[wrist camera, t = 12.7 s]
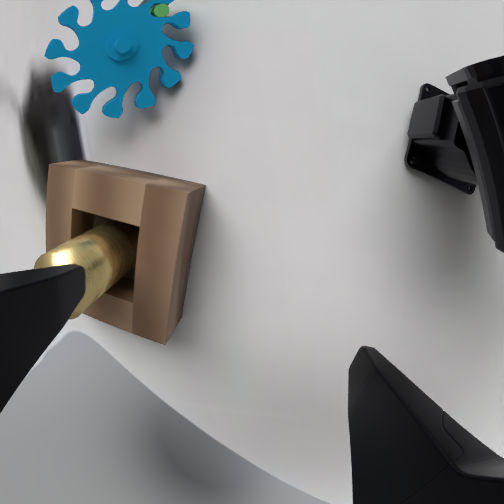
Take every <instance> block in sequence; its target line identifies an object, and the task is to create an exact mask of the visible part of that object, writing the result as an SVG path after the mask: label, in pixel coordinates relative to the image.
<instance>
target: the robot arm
mask: <svg viewBox="0 0 504 504" xmlns="http://www.w3.org/2000/svg"><path fill="white" fill-rule="evenodd" d="M446 79H447V82H448V84H449V86H451V87H452V89H453V92H454V94H450V95H449V94H448V93H446V92H444V91H442V90H440V89H438V88H436V87H435V86H433V85H431V84H428V83H427V84H423V85H422V86H421V88H420V94H419V99H418V102H416V103H415V104H414V108H413V113H412V117H411V122H410V126H409V130H408V136H409V138H410V139H409V143H408V147H407V151H406V155H405V160H404V161H405V164H406V165H407V166H408V167H410V168H412V169H415V170H417V171H419V172H422V173H424V174H426V175H429V176H431V177H433V178H435V179H437V180H440V181H442V182H444V183H446V184H448V185H450V186H452V187H454V188H456V189H458V190H460V191H462V192H464V193H467V194H473V193H474V191H475V187H476V185H478V186H479V191H480V195H481V200H482V204H483V210H484V215H485V221H486V227H487V232H488V233H489V235H490V236H491V238H492V239H493V240H494V241H495V247H496V248H497V249H498V250H500V251H502V252H503V253H504V56H501V57H496V58H493V59H489V60H485V61H482V62H479V63H475V64H472V65H470V66H467V67H465V68H462V69H460V70H459V71H457V72H455V73H453V74H451V75H449V76H447V77H446ZM426 88H428V89H429V93H427V91H426ZM411 157H412V158H413V159H414V162H413V163H412V164H411V163H410V158H411ZM469 185H470V189H469V190H468V186H469ZM85 291H86V281H85V269H84V267H82V266H80V265H77V264H66V265H59V266H52V267H45V268H38V269H31V270H25V271H18V272H11V273H4V274H0V413H1V411H2V410H3V408H4V407H5V405H6V404H7V402H8V401H9V399H10V398H11V396H12V395H13V393H14V392H15V391H16V389H17V388H18V386H19V385H20V383H21V382H22V381H23V379H24V378H25V376H26V375H27V374H28V372H29V371H30V370H31V368H32V367H33V366H34V364H35V363H36V362H37V360H38V359H39V358H40V356H41V355H42V354H43V352H44V351H45V350H46V348H47V347H48V346H49V345H50V343H51V342H52V341H53V339H54V338H55V337H56V336H57V334H58V333H59V332H60V331H61V329H62V328H63V327H64V325H65V324H66V322H67V321H68V319H69V318H70V316H71V314H72V313H73V311H74V310H75V308H76V307H77V305H78V304H79V303H80V301H81V300H82V298H83V297H84V294H85ZM348 420H349V432H350V446H351V463H352V486H353V504H504V458H502V457H500V456H499V455H497V454H496V453H495V452H493V451H492V450H491V449H490V448H488V447H487V446H486V445H484V444H483V443H482V442H481V441H479V440H478V439H477V438H475V437H474V436H473V435H472V434H470V433H469V432H468V431H467V430H466V429H464V428H463V427H462V426H461V425H460V424H458V423H457V422H456V421H455V420H454V419H453V418H452V417H450V416H449V415H448V414H447V413H446V412H445V411H443V409H442V408H441V407H439V406H438V405H437V404H436V403H435V402H434V401H433V400H432V399H431V398H429V397H428V396H427V395H426V394H425V393H424V392H423V391H422V390H421V389H420V388H418V387H417V386H416V385H415V384H414V383H413V382H412V381H411V380H410V379H408V378H407V377H406V376H405V375H404V374H403V373H402V372H401V371H400V370H398V369H397V368H396V367H395V366H394V365H393V364H392V363H391V362H389V361H388V360H387V359H386V358H385V357H384V356H383V355H382V354H381V353H379V352H378V351H377V350H376V349H375V348H373V347H368V346H362V347H360V349H359V350H358V352H357V354H356V356H355V358H354V360H353V361H352V363H351V365H350V368H349V382H348Z"/></svg>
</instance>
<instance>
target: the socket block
mask: <svg viewBox="0 0 504 504" xmlns="http://www.w3.org/2000/svg"><path fill="white" fill-rule="evenodd" d="M205 186H206V185H203V184H198V183H194V182H190V181H185V180H181V179H177V178H172V177H167V176H163V175H158V174H153V173H149V172H144V171H139V170H134V169H129V168H124V167H119V166H114V165H108V164H103V163H97V162H92V161H86V160H74V161H67V162H60V163H54V164H49V171H48V183H47V200H46V253H47V252H48V251H50V250H52V249H54V248H56V247H58V246H60V245H62V244H63V243H65V242H67V241H69V240H71V239H73V238H75V237H77V236H79V235H81V234H83V233H85V232H87V231H89V230H91V229H93V228H95V227H97V226H99V225H101V224H103V223H105V222H108V221H110V220H112V219H114V220H117V221H121V222H124V223H128V224H132V225H135V226H137V228H138V229H139V237H138V247H137V257H136V266H135V267H133V268H132V269H131V270H130V271H129V272H128V273H126V274H125V275H124V276H123V277H122V278H121V279H119V280H118V281H117V282H116V283H115V284H114V285H113V286H111V287H110V288H109V289H108V290H107V291H106V292H105V293H104V294H102V295H101V296H100V297H99V298H98V299H97V300H96V301H95V302H93V303H92V304H91V305H90V306H89V307H88V308H87V309H86V310H85V311H84V312H83V314H86V315H88V316H90V317H93V318H95V319H97V320H100V321H102V322H105V323H107V324H110V325H112V326H115V327H117V328H120V329H122V330H125V331H127V332H130V333H133V334H135V335H138V336H141V337H144V338H146V339H149V340H152V341H155V342H158V343H161V344H164V345H166V343H167V341H168V339H169V338H170V336H171V334H172V333H173V331H174V329H175V327H176V326H177V324H178V322H179V321H180V319H181V317H182V311H183V305H184V298H185V292H186V286H187V280H188V274H189V268H190V262H191V257H192V251H193V246H194V240H195V235H196V230H197V225H198V220H199V214H200V210H201V205H202V200H203V195H204V190H205Z"/></svg>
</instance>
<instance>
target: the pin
mask: <svg viewBox="0 0 504 504" xmlns="http://www.w3.org/2000/svg"><path fill="white" fill-rule="evenodd" d="M138 237H139V229H138V228H137V226H135V225H132V224H128V223H124V222H121V221H117V220H114V219H112V220H110V221H108V222H105V223H103V224H101V225H99V226H97V227H95V228H93V229H91V230H89V231H87V232H85V233H83V234H81V235H79V236H77V237H75V238H73V239H71V240H69V241H67V242H65V243H63V244H62V245H60V246H58V247H56V248H54V249H52V250H50V251H48V252H47V253H45V254H43V255H41V256H40V257H39V258H38V259H37V261H36V263H35V266H34V269H38V268H45V267H52V266H59V265H66V264H77V265H80V266H82V267H84V269H85V281H86V291H85V294H84V297H83V298H82V300H81V301H80V303H79V304H78V305H77V307H76V308H75V310H74V311H73V313H72V314H71V316H70V318H69V319H74V318H77V317H78V316H79V315H80V314H81V313H83V312H84V311H85V310H86V309H87V308H88V307H89V306H90V305H91V304H92V303H93V302H95V301H96V300H97V299H98V298H99V297H100V296H101V295H102V294H104V293H105V292H106V291H107V290H108V289H109V288H110V287H111V286H113V285H114V284H115V283H116V282H117V281H118V280H119V279H121V278H122V277H123V276H124V275H125V274H126V273H128V272H129V271H130V270H131V269H132V268H133V267H135V266H136V257H137V247H138Z"/></svg>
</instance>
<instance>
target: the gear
mask: <svg viewBox="0 0 504 504" xmlns="http://www.w3.org/2000/svg"><path fill="white" fill-rule="evenodd" d="M90 1H91V3H92V5H93V18H92V22H91V24H89V25H88V26H85V27H82V26H79V25H78V23H77V19H78V13H79V12H78V9H77V8H76V7H75V6H71V7H69V8H68V9H66V10H65V11H64V12H63V13H62V14H61V15H60V16H59V17H58V20H59V23H60V24H61V25H63V26H67V27H69V28H71V29H72V30H73V31H74V32H75V33H76V35H77V37H78V39H79V46H78V48H77V49H75V50H73V51H68V50H66V49H65V47H64V45H63V43H62V42H61V41H60V40H58V39H53V40H51V42H50V43H49V45H48V47H47V50H46V53H45V57H46V58H48V59H55V58H58V57H69V58H72V59H74V60H76V61H78V62H79V63H80V71H79V72H78V73H77V74H76V75H73V76H70V75H68V74H66V73H64V72H57V73H55V74H54V75H53V76H52V87H53V90H54V92H60V91H62V90H64V89H65V88H66V87H67V86H68V85H69V84H71V83H73V82H75V81H78V80H83V79H91V80H93V81H94V88H93V90H92V91H91V92H89V93H84V94H78V95H76V96H75V97H74V98H73V99H72V105H73V107H74V108H75V109H76V110H77V111H78V112H80V113H81V114H84V113H85V112H87V111H88V110H89V108H90V105H91V103H92V101H93V99H94V98H95V97H96V96H97V95H98V94H99V93H100V92H102V91H103V90H105V89H106V88H108V87H111V86H112V87H115V88H116V91H117V93H116V96H115V97H114V98H113V99H111V100H110V101H108V102H107V103H105V104H104V106H103V109H102V113H103V114H104V115H106V116H108V117H112V118H119V117H120V116H121V115H122V112H123V108H122V101H123V97H124V94H125V92H126V91H127V89H128V88H129V86H130V85H131V84H132V83H134V82H139V83H140V86H141V88H140V91H139V92H138V94H137V95H136V97H135V100H134V103H135V105H136V107H138V108H147V107H150V106H153V105H154V104H155V97H154V95H153V94H152V92H151V90H150V87H149V75H150V71H151V70H152V69H153V68H154V67H159V69H160V71H161V74H160V83H161V84H162V85H163V86H164V87H167V88H170V87H172V86H174V85H175V84H176V83H177V82H178V81H179V80H180V79H181V75H180V73H179V72H177V71H175V70H173V69H171V68H170V67H169V66H168V65H167V64H166V62H165V61H164V58H163V56H162V49H163V48H164V47H165V46H167V45H168V46H170V47H171V48H172V51H173V53H174V55H175V56H176V57H177V58H181V59H187V58H188V57H189V55H190V54H191V52H192V50H193V47H194V45H193V44H192V43H191V42H189V41H184V42H180V41H175V40H172V39H170V38H169V37H167V36H166V35H165V34H164V33H163V32H162V27H163V25H164V24H165V23H168V24H170V25H172V26H173V27H174V28H176V29H183V28H187V27H189V26H190V13H189V12H187V11H182V12H179V13H176V14H175V15H173V16H171V17H164V16H166V15H167V14H168V13H169V7H168V4H169V3H171V2H172V1H174V0H143V1H142V2H141V4H140V5H139V6H138V7H131V6H129V4H128V2H127V1H128V0H120V1H119V2H118V4H117V5H116V6H115V7H114V8H113V9H111V10H103V9H102V8H101V2H102V1H103V0H90Z"/></svg>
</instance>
